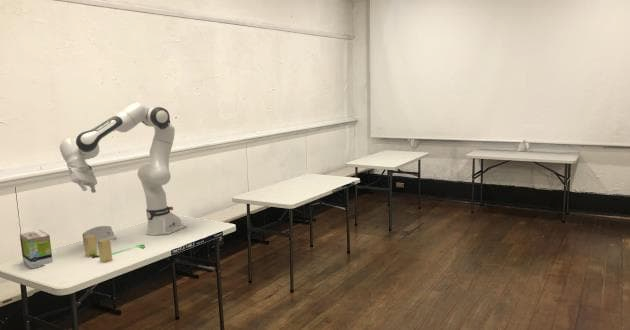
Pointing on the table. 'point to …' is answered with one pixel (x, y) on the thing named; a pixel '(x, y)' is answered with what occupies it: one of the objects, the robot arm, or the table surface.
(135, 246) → the wrench
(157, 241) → the table surface
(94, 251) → the wooden block
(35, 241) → the tea box
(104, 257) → the tan wooden block
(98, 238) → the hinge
